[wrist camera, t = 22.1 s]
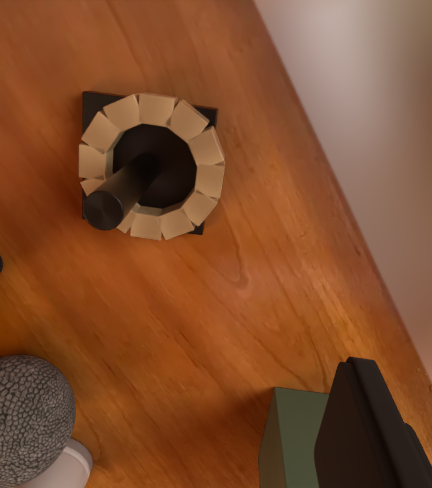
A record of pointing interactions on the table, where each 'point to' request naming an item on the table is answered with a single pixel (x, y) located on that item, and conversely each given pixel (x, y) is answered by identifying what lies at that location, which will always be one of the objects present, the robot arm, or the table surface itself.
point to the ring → (183, 125)
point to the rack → (141, 168)
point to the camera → (1, 264)
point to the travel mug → (65, 469)
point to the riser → (291, 439)
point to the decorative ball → (32, 417)
